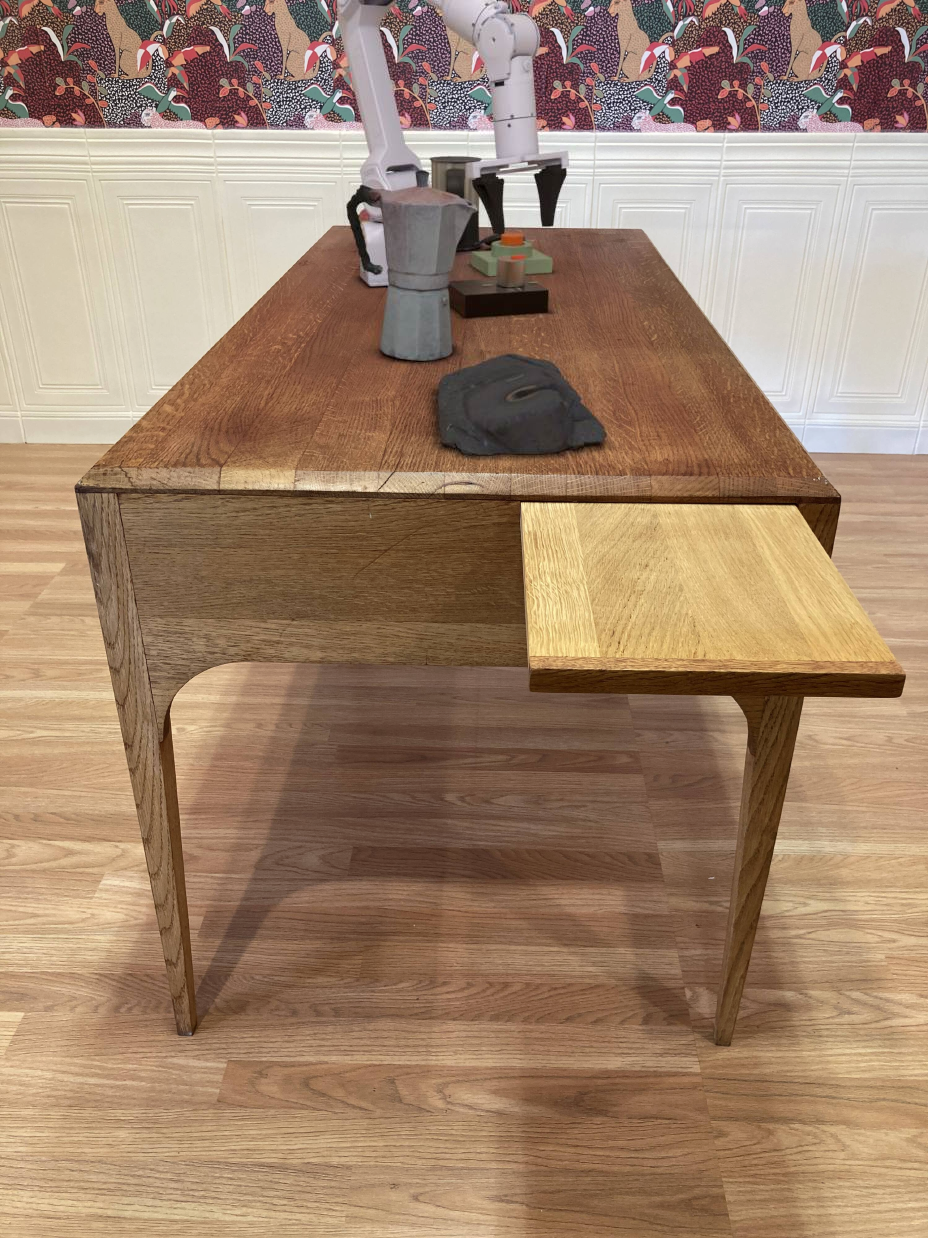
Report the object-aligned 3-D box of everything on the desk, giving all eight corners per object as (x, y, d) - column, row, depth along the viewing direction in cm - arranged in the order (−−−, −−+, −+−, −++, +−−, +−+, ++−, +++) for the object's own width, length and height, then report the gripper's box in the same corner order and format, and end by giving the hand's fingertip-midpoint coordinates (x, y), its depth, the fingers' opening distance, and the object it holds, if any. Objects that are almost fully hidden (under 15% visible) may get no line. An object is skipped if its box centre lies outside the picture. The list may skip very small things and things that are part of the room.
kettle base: (488, 276, 154) (488, 249, 152) (471, 265, 161) (471, 240, 159) (552, 272, 156) (553, 246, 154) (532, 262, 164) (533, 237, 162)
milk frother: (424, 243, 178) (423, 155, 170) (504, 239, 182) (506, 153, 175) (445, 257, 166) (445, 163, 159) (531, 253, 171) (534, 161, 163)
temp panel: (465, 317, 130) (465, 293, 129) (446, 302, 138) (446, 279, 136) (548, 312, 133) (549, 288, 132) (526, 297, 141) (526, 275, 139)
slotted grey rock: (571, 381, 106) (574, 337, 104) (611, 454, 87) (615, 403, 85) (432, 382, 105) (432, 339, 103) (442, 457, 86) (442, 405, 84)
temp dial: (501, 287, 132) (502, 258, 130) (492, 282, 136) (493, 253, 134) (528, 286, 133) (530, 257, 131) (519, 280, 137) (520, 252, 135)
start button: (505, 248, 155) (505, 236, 154) (497, 244, 158) (498, 233, 157) (526, 247, 156) (526, 235, 155) (518, 243, 159) (519, 232, 158)
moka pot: (467, 367, 110) (470, 176, 100) (339, 358, 113) (328, 171, 103) (483, 345, 118) (486, 166, 108) (362, 337, 121) (354, 162, 111)
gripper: (478, 122, 121) (489, 237, 127) (577, 111, 126) (584, 222, 132) (455, 126, 127) (466, 236, 133) (551, 116, 132) (558, 222, 138)
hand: (523, 230), depth 132 cm, fingers open, 7 cm apart
